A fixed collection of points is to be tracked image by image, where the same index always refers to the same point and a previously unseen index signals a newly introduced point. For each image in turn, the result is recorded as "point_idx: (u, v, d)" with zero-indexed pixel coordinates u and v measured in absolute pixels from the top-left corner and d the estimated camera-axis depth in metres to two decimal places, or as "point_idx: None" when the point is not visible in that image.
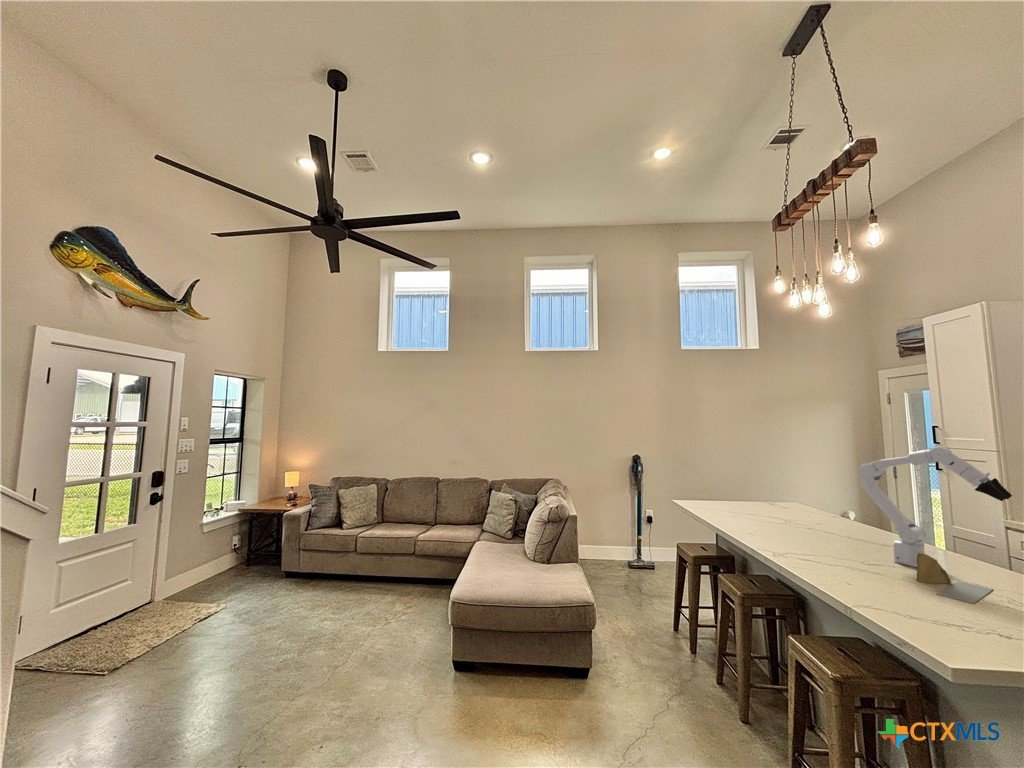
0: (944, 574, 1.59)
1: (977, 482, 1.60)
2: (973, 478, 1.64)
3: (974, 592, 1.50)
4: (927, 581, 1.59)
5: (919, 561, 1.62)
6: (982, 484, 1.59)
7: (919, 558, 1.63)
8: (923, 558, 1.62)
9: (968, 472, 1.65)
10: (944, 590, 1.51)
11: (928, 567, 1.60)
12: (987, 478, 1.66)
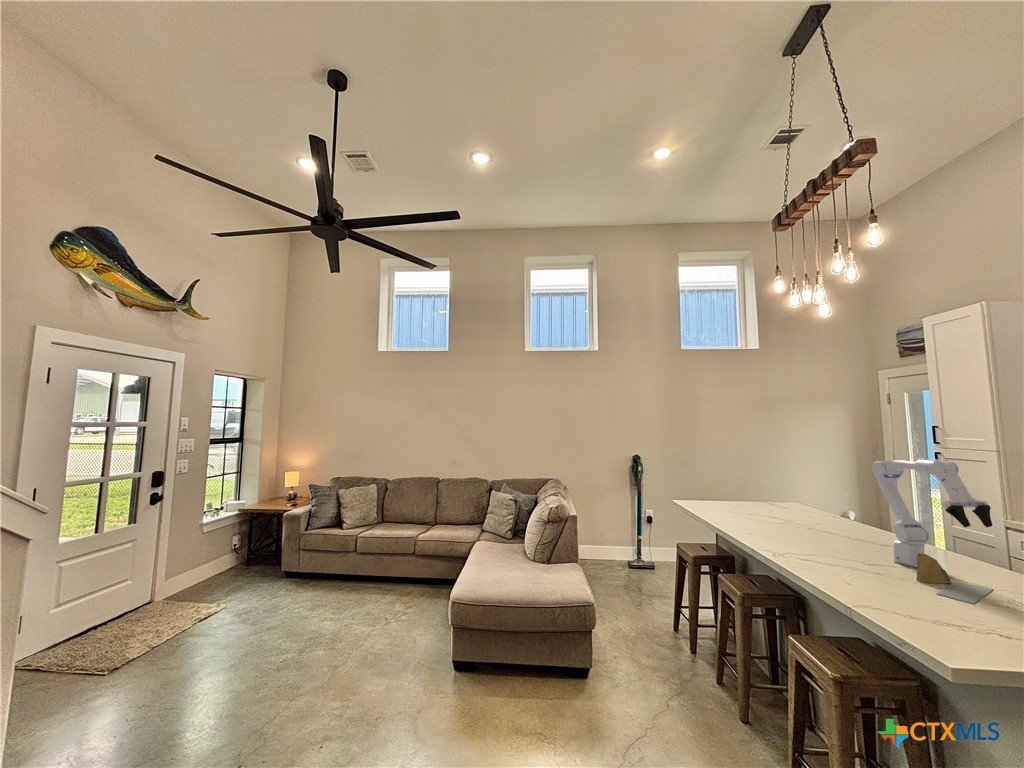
0: (944, 574, 1.59)
1: (945, 504, 1.59)
2: (953, 499, 1.60)
3: (974, 592, 1.50)
4: (927, 581, 1.59)
5: (919, 561, 1.62)
6: (951, 507, 1.58)
7: (919, 558, 1.63)
8: (923, 558, 1.62)
9: (952, 492, 1.61)
10: (944, 590, 1.51)
11: (928, 567, 1.60)
12: (981, 503, 1.58)
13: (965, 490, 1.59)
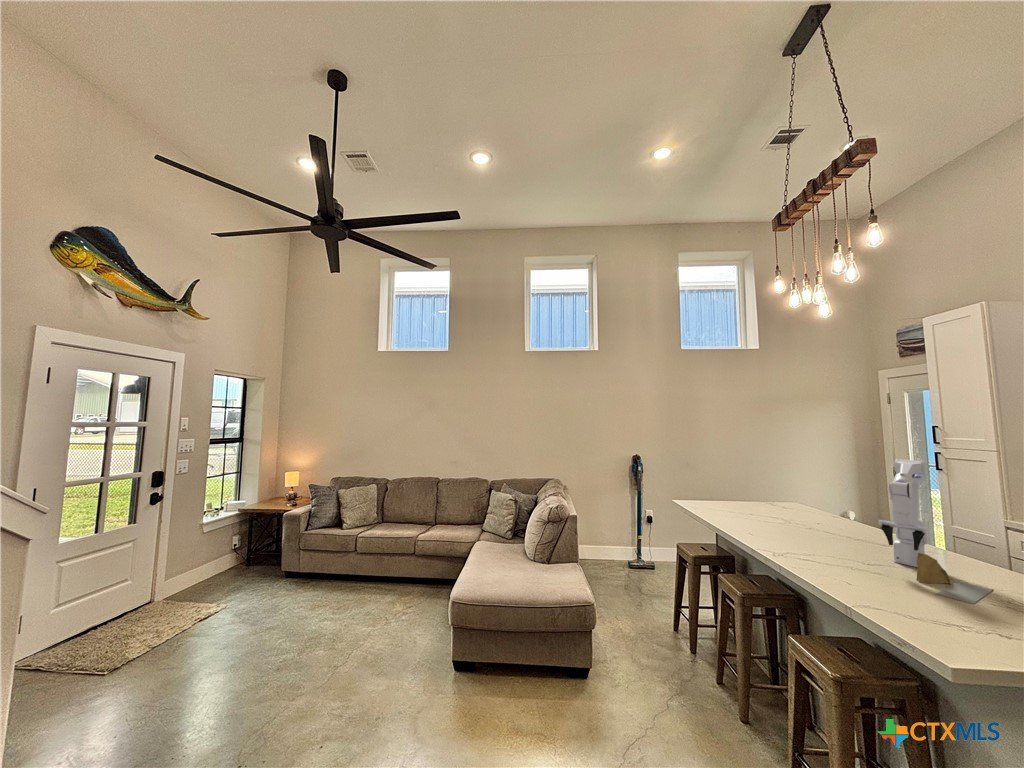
0: (944, 574, 1.59)
1: None
2: None
3: (974, 592, 1.50)
4: (927, 581, 1.59)
5: (919, 561, 1.62)
6: None
7: (919, 558, 1.63)
8: (923, 558, 1.62)
9: (892, 514, 1.71)
10: (944, 590, 1.51)
11: (928, 567, 1.60)
12: (918, 529, 1.64)
13: (900, 516, 1.67)
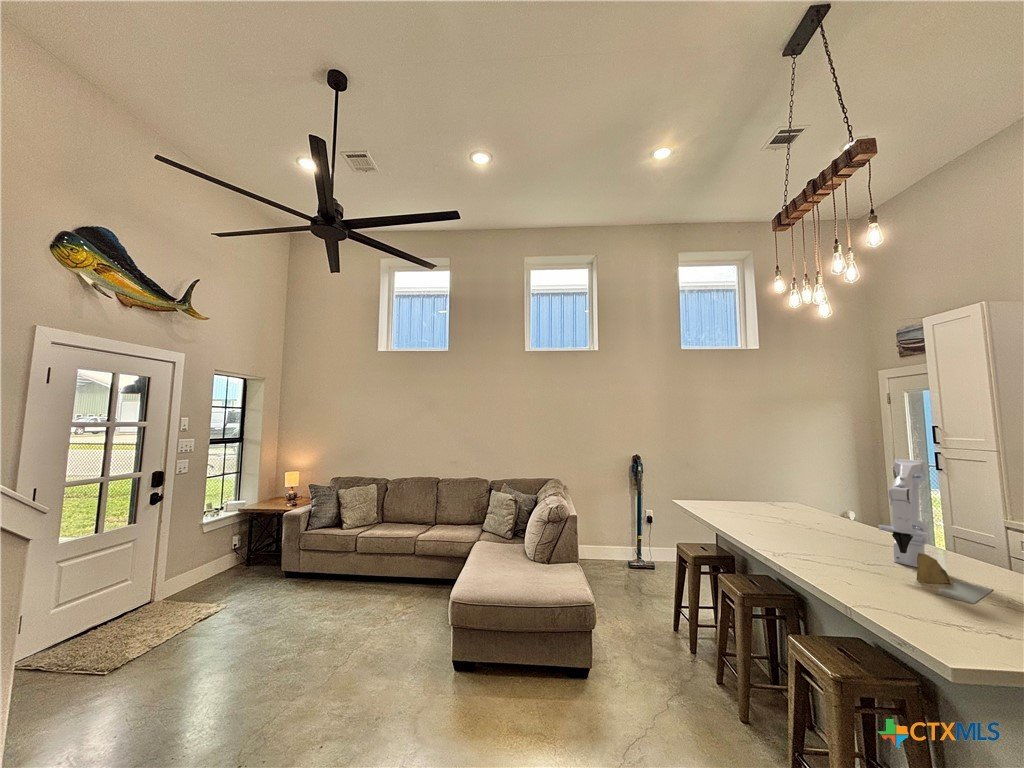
0: (944, 574, 1.59)
1: None
2: None
3: (974, 592, 1.50)
4: (927, 581, 1.59)
5: (919, 561, 1.62)
6: None
7: (919, 558, 1.63)
8: (923, 558, 1.62)
9: (892, 519, 1.71)
10: (944, 590, 1.51)
11: (928, 567, 1.60)
12: (917, 534, 1.64)
13: (900, 521, 1.67)
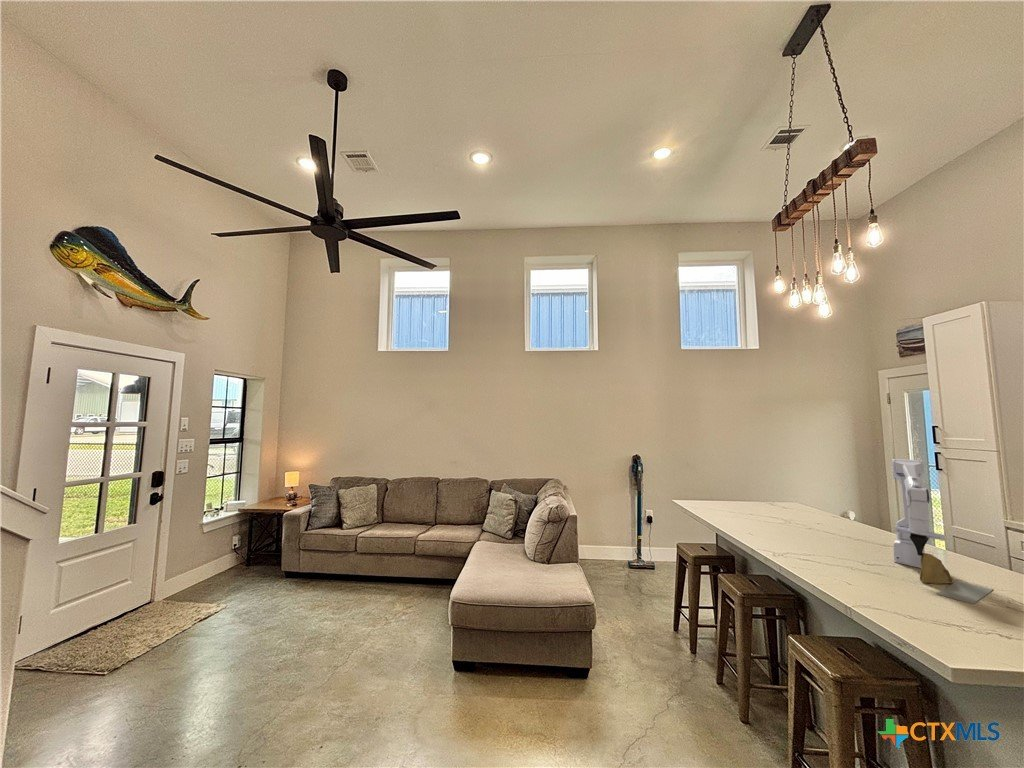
0: (947, 574, 1.59)
1: None
2: None
3: (974, 592, 1.50)
4: (931, 581, 1.58)
5: (923, 561, 1.61)
6: None
7: (923, 558, 1.61)
8: (928, 558, 1.61)
9: (908, 520, 1.66)
10: (944, 590, 1.51)
11: (933, 568, 1.59)
12: (935, 536, 1.59)
13: (917, 522, 1.62)
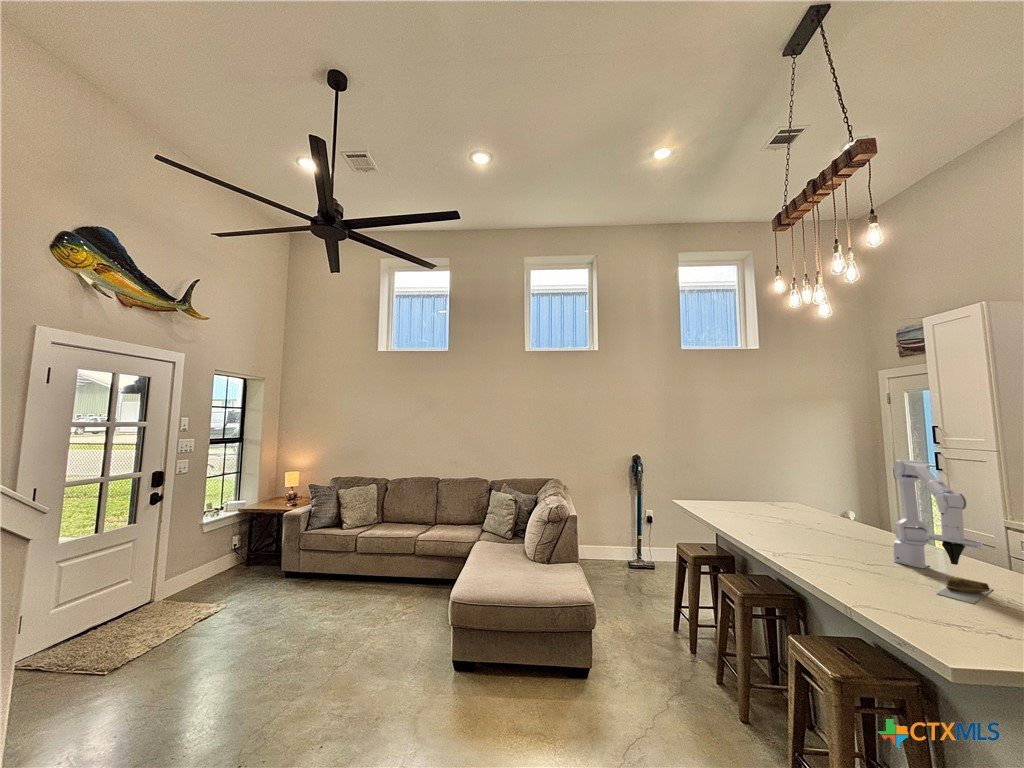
0: None
1: None
2: None
3: (974, 592, 1.50)
4: None
5: (976, 589, 1.47)
6: None
7: (981, 589, 1.47)
8: (981, 590, 1.48)
9: None
10: (944, 590, 1.51)
11: (968, 591, 1.50)
12: (971, 544, 1.51)
13: (951, 530, 1.55)
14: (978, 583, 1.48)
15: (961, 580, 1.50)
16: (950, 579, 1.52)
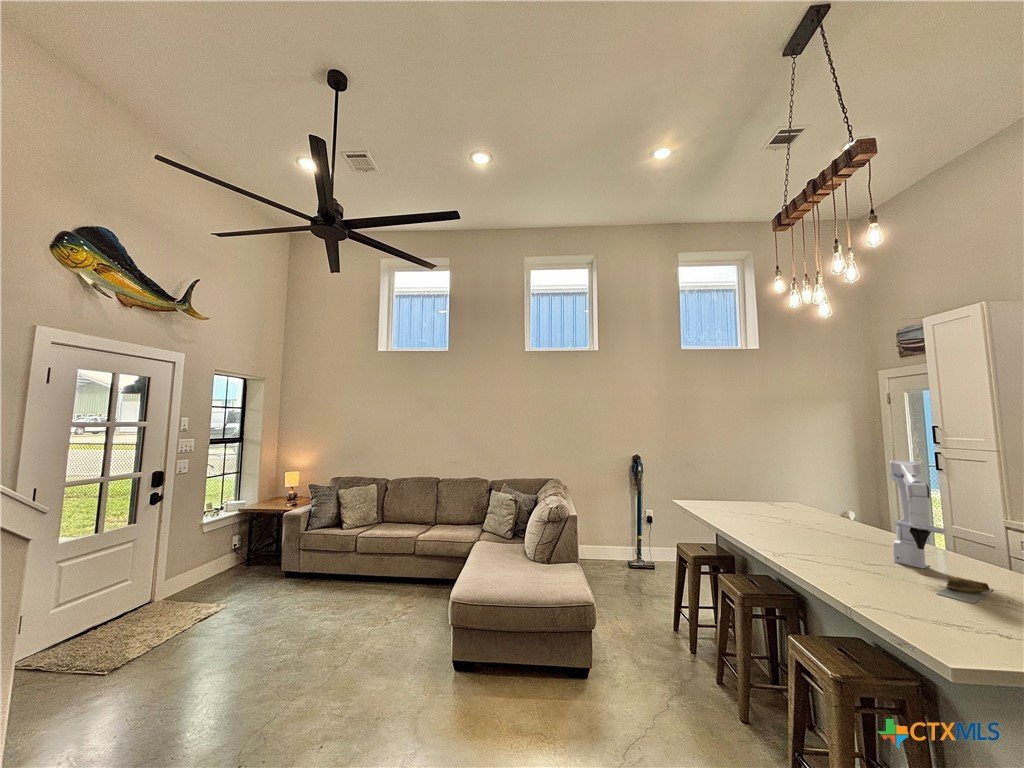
0: None
1: None
2: None
3: (974, 592, 1.50)
4: None
5: (976, 589, 1.47)
6: None
7: (981, 589, 1.47)
8: (981, 590, 1.47)
9: (909, 515, 1.70)
10: (944, 590, 1.51)
11: (968, 591, 1.50)
12: (936, 530, 1.63)
13: (918, 517, 1.66)
14: (978, 583, 1.48)
15: (961, 580, 1.50)
16: (950, 579, 1.52)
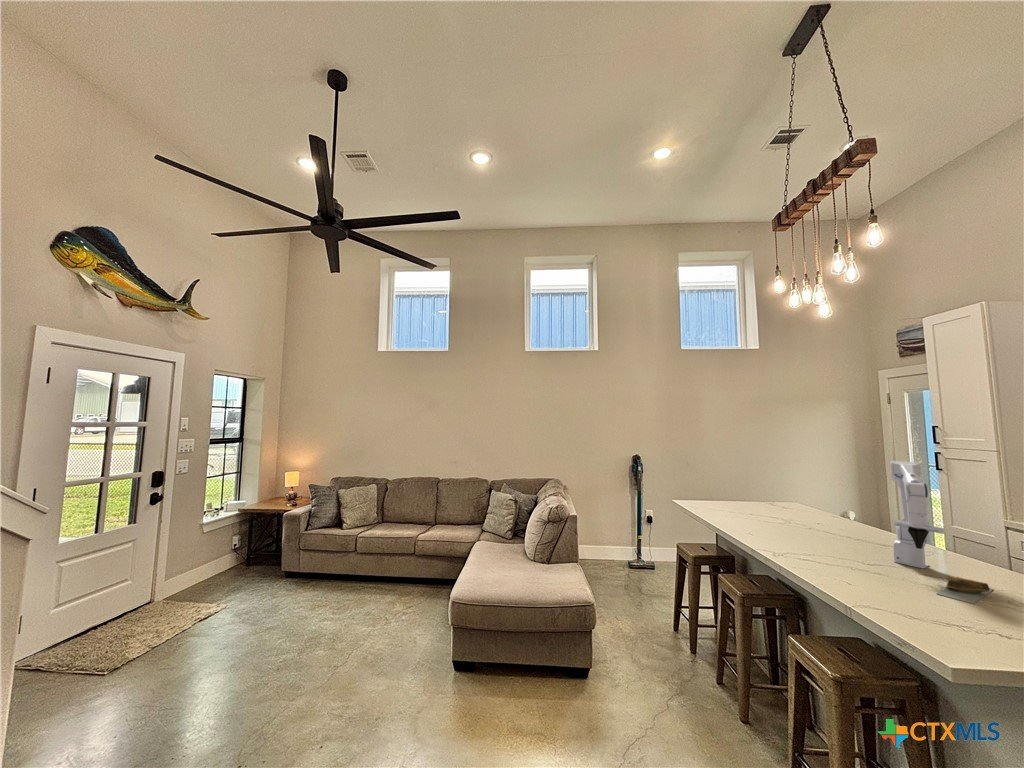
0: None
1: None
2: None
3: (974, 592, 1.50)
4: None
5: (976, 589, 1.47)
6: None
7: (981, 589, 1.47)
8: (981, 590, 1.47)
9: (907, 514, 1.70)
10: (944, 590, 1.51)
11: (968, 591, 1.50)
12: (934, 529, 1.63)
13: (916, 516, 1.67)
14: (978, 583, 1.48)
15: (961, 580, 1.50)
16: (950, 579, 1.52)
